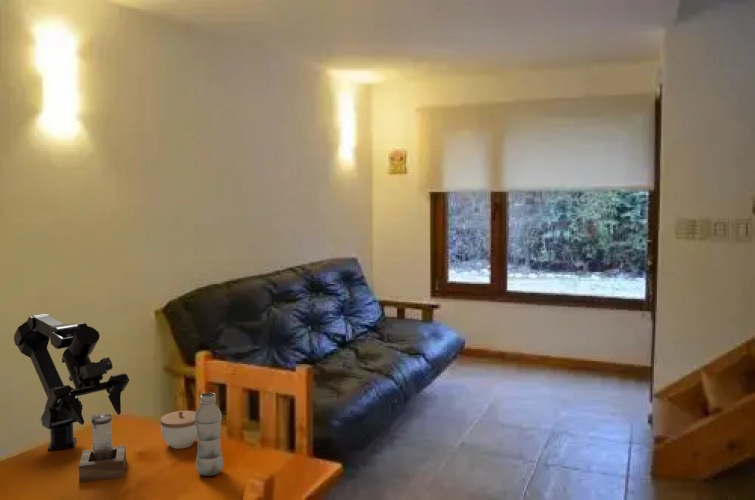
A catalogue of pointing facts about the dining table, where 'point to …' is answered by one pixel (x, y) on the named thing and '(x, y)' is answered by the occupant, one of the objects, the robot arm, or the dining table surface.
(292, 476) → the dining table surface
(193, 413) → the lidded jar
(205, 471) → the plastic bottle
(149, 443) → the dining table surface
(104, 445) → the silver metal can
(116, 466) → the socket block
